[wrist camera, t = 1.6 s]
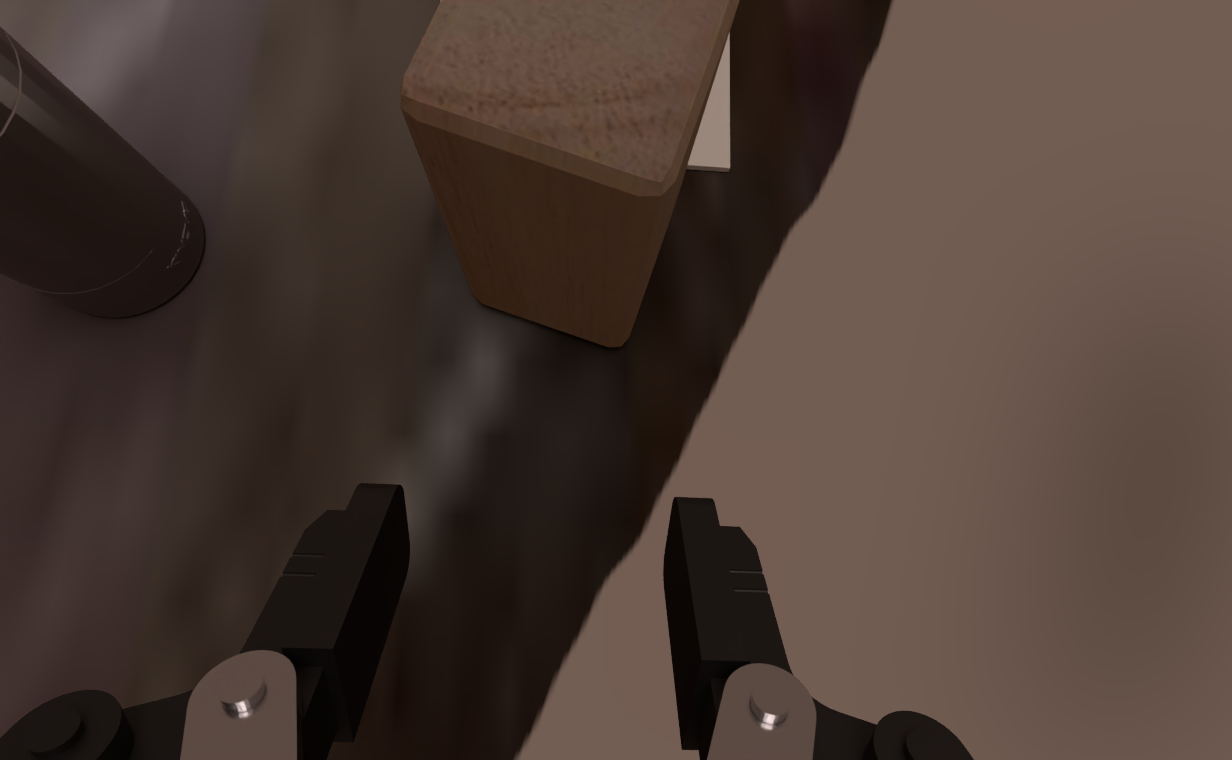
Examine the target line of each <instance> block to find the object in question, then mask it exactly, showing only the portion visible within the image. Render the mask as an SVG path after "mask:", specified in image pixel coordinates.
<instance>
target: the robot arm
mask: <svg viewBox="0 0 1232 760" xmlns="http://www.w3.org/2000/svg"><path fill="white" fill-rule="evenodd" d="M203 247H204V230H203V224H202V220H201V218H200V215H199V213H198V211H197V209H196V207H195V206H194V205H193V203H192V202H191V201H190V200H189V198H188V197H187V196H186V195H185V194H183V193H182V192H181V191H180V190H179V189H178V188H177V187H176V186H175V185H174V184H172V183H171V182H170V181H169V180H168V179H167V178H166V177H165V176H164V175H163V174H161V173H160V172H159V171H158V170H157V169H156V168H155V167H154V166H153V165H152V164H151V163H150V162H149V161H148V160H146V159H145V158H144V157H143V156H142V155H141V154H140V153H139V152H138V151H137V150H135V149H134V148H133V147H132V146H131V145H130V144H129V143H128V142H127V141H126V140H124V139H123V138H122V137H121V136H120V135H119V134H118V133H117V132H116V131H115V130H113V129H112V128H111V127H110V126H109V125H108V124H107V123H106V122H105V121H104V120H102V119H101V118H100V117H99V116H98V115H97V114H96V113H95V112H94V111H93V110H91V109H90V108H89V107H88V106H87V105H86V104H85V103H84V102H83V101H82V100H80V99H79V98H78V97H77V96H76V95H75V94H74V93H73V92H72V91H71V90H69V89H68V88H67V87H66V86H65V85H64V84H63V83H62V82H61V81H60V80H58V79H57V78H56V77H55V76H54V75H53V74H52V73H51V72H50V71H49V70H47V69H46V68H45V67H44V66H43V65H42V64H41V63H40V62H39V61H38V60H36V59H35V58H34V57H33V56H32V55H31V54H30V53H29V52H28V51H27V50H25V49H24V48H23V47H22V46H21V45H20V44H19V43H18V42H17V41H16V40H14V39H13V38H12V37H11V36H10V35H9V34H8V33H7V32H6V31H5V30H3V29H2V28H1V27H0V273H1V274H3V275H5V276H7V277H10V278H12V279H14V280H16V281H18V282H20V283H22V284H24V285H26V286H28V287H30V288H32V289H34V290H37V291H39V292H41V293H43V294H45V295H47V296H49V297H51V298H53V299H56V300H58V301H60V302H62V303H64V304H66V305H68V306H70V307H72V308H74V309H77V310H79V311H81V312H83V313H87V314H91V315H94V316H98V317H112V318H118V317H126V316H133V315H137V314H140V313H143V312H146V311H149V310H152V309H153V308H155V307H157V306H159V305H161V304H163V303H165V302H166V301H168V300H169V299H170V298H172V297H173V296H174V295H175V294H177V293H178V292H179V291H180V290H181V289H182V288H183V287H184V286H185V285H186V283H187V282H188V281H189V280H190V279H191V277H192V275H193V274H194V272H195V270H196V269H197V267H198V265H199V262H200V259H201V256H202V253H203ZM409 559H410V540H409V531H408V523H407V514H406V506H405V497H404V490H403V487H402V486H401V485H392V484H368V483H361V484H359V485H358V486H357V488H356V489H355V491H354V494H353V496H352V498H351V500H350V502H349V504H348V506H347V508H346V511H341V510H327V511H326V512H325V513H323V514H322V515H321V516H320V517H319V518H318V519H317V520H316V521H314V522H313V523H312V524H311V525H310V526H309V527H308V528H307V529H305V531H304V533H303V535H302V537H301V539H300V540H299V542H298V544H297V546H296V548H295V550H294V552H293V557H291V558H290V559H289V561H288V563H287V565H286V567H285V569H284V571H283V576H282V577H280V578H279V580H278V582H277V584H276V586H275V588H274V590H273V592H272V594H271V596H270V597H269V599H268V601H267V603H266V605H265V607H264V609H263V611H262V613H261V615H260V616H259V618H258V620H257V622H256V624H255V626H254V628H253V630H252V632H251V633H250V635H249V637H248V639H247V641H246V643H245V645H244V647H243V648H242V650H241V652H240V653H239V655H236V656H234V657H231V658H229V659H227V660H225V661H224V662H222V663H220V664H219V665H217V666H216V667H214V668H213V669H212V670H210V671H209V672H208V673H207V674H206V675H205V676H204V677H203V678H202V679H201V681H200V682H199V683H198V684H197V686H196V687H195V689H193V690H191V691H189V692H186V693H183V694H180V695H177V696H173V697H169V698H165V699H161V700H157V701H153V702H149V703H145V704H141V705H137V706H133V707H129V708H126V709H122V708H121V706H120V704H119V702H118V701H117V700H116V698H115V697H113V696H112V695H110V694H109V693H106V692H103V691H98V690H83V691H76V692H72V693H68V694H65V695H62V696H59V697H57V698H54V699H52V700H50V701H48V702H46V703H44V704H42V705H40V706H39V707H37V708H35V709H34V710H32V711H31V712H29V713H28V714H27V715H25V716H24V717H23V718H21V719H20V720H19V721H18V722H17V723H16V724H15V725H13V726H12V727H11V728H10V729H9V730H8V731H7V732H6V733H5V734H4V735H3V736H2V737H1V738H0V760H327V757H328V754H329V751H330V749H331V746H332V743H333V742H354V740H355V737H356V734H357V731H358V728H359V725H360V721H361V718H362V715H363V712H364V709H365V706H366V702H367V699H368V696H369V693H370V690H371V687H372V684H373V680H374V677H375V674H376V671H377V668H378V665H379V661H380V658H381V655H382V652H383V649H384V646H385V643H386V639H387V636H388V633H389V630H390V627H391V624H392V621H393V617H394V614H395V611H396V608H397V605H398V602H399V598H400V595H401V592H402V589H403V586H404V583H405V580H406V576H407V572H408V567H409ZM663 576H664V591H665V600H666V609H667V618H668V628H669V637H670V645H671V655H672V664H673V673H674V682H675V691H676V701H677V710H678V719H679V727H680V737H681V746H682V750H699V756H700V760H973V758H972V757H971V755H970V754H969V752H968V751H967V749H966V748H965V747H964V745H963V744H962V743H961V741H960V740H959V739H958V738H957V737H956V736H955V735H954V734H953V733H952V732H951V731H950V730H948V729H947V728H946V727H945V726H944V725H942V724H941V723H939V722H937V721H936V720H934V719H932V718H930V717H928V716H926V715H923V714H920V713H917V712H912V711H896V712H893V713H890V714H888V715H886V716H884V717H883V718H882V719H881V720H880V721H879V722H878V724H877V725H876V724H873V723H870V722H867V721H864V720H861V719H858V718H855V717H852V716H849V715H846V714H843V713H840V712H837V711H835V710H832V709H830V708H828V707H826V706H824V705H822V704H821V703H819V702H818V701H817V700H815V699H814V698H812V697H811V695H810V694H809V692H808V690H807V689H806V688H805V686H804V685H803V684H802V683H801V682H800V681H799V680H798V679H797V678H796V677H794V675H793V674H792V672H791V669H790V666H789V664H788V660H787V657H786V654H785V650H784V646H783V643H782V639H781V636H780V632H779V628H778V624H777V621H776V617H775V614H774V610H773V607H772V603H771V600H770V596H769V594H768V592H767V590H768V588H767V585H766V581H765V578H764V575H763V574H762V567H761V563H760V560H759V556H758V553H757V549H756V547H755V545H754V544H753V543H752V542H751V540H750V539H749V538H748V537H747V535H746V534H745V533H744V532H743V530H742V529H741V528H740V527H731V526H720V525H719V520H718V516H717V511H716V507H715V503H714V501H713V499H711V498H687V497H674V499H673V503H672V509H671V515H670V522H669V528H668V535H667V541H666V547H665V554H664V571H663Z"/></svg>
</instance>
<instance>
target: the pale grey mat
mask: <svg viewBox="0 0 1232 760" xmlns="http://www.w3.org/2000/svg"><path fill="white" fill-rule="evenodd" d="M440 2H441V1H440ZM686 169H691V170H705V171H719V172H729V169H730V43H729V35H728V38H727V41H726V44H725V47H724V51H723V54H722V57H721V60H720V63H719V66H718V70H717V73H716V76H715V79H714V82H713V85H712V89H711V92H710V95H709V98H708V101H707V104H706V108H705V111H704V114H703V117H702V120H701V123H700V127H699V130H698V133H697V136H696V139H695V142H694V146H693V149H692V152H691V155H690V158H689V161H688V165H687V168H686Z"/></svg>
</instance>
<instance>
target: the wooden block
mask: <svg viewBox="0 0 1232 760" xmlns="http://www.w3.org/2000/svg"><path fill="white" fill-rule="evenodd" d="M738 3H739V0H441V2H440V4H439V6H438V8H437V10H436V12H435V14H434V16H433V18H432V20H431V22H430V24H429V26H428V28H427V30H426V32H425V34H424V36H423V38H422V40H421V42H420V45H419V47H418V49H417V51H416V53H415V55H414V57H413V59H412V61H411V63H410V65H409V67H408V69H407V71H406V73H405V75H404V77H403V81H402V85H401V110H402V112H403V115H404V117H405V120H406V123H407V125H408V128H409V130H410V133H411V135H412V138H413V141H414V143H415V146H416V148H417V151H418V154H419V156H420V159H421V161H422V164H423V167H424V169H425V172H426V174H427V177H428V180H429V182H430V185H431V187H432V190H433V193H434V195H435V198H436V200H437V203H438V206H439V208H440V211H441V213H442V216H443V219H444V221H445V224H446V226H447V229H448V231H449V234H450V237H451V239H452V242H453V244H454V247H455V250H456V252H457V255H458V257H459V260H460V263H461V265H462V268H463V270H464V273H465V276H466V278H467V281H468V283H469V286H470V289H471V291H472V294H473V296H474V297H475V298H476V299H477V300H479V301H480V302H481V303H482V304H484V305H487V306H490V307H493V308H496V309H499V310H501V311H504V312H507V313H510V314H513V315H516V316H519V317H522V318H525V319H528V320H530V321H533V322H536V323H539V324H542V325H545V326H548V327H551V328H554V329H557V330H559V331H562V332H565V333H568V334H571V335H574V336H577V337H580V338H583V339H586V340H588V341H591V342H594V343H597V344H600V345H603V346H606V347H621V346H622V345H623V344H624V343H625V342H626V340H627V339H628V338H629V336H630V334H631V331H632V328H633V325H634V322H635V319H636V316H637V314H638V311H639V308H640V305H641V302H642V299H643V296H644V294H645V291H646V288H647V285H648V282H649V279H650V276H651V273H652V271H653V268H654V265H655V262H656V259H657V256H658V253H659V251H660V248H661V245H662V242H663V239H664V236H665V233H666V231H667V228H668V225H669V222H670V219H671V215H672V212H673V209H674V206H675V203H676V200H677V196H678V193H679V190H680V187H681V184H682V181H683V177H684V174H685V171H686V168H687V165H688V161H689V158H690V155H691V152H692V149H693V146H694V142H695V139H696V136H697V133H698V130H699V127H700V123H701V120H702V117H703V114H704V111H705V108H706V104H707V101H708V98H709V95H710V92H711V89H712V85H713V82H714V79H715V76H716V73H717V70H718V66H719V63H720V60H721V57H722V54H723V51H724V47H725V44H726V41H727V38H728V35H729V32H730V28H731V25H732V22H733V19H734V16H735V13H736V9H737V6H738Z"/></svg>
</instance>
